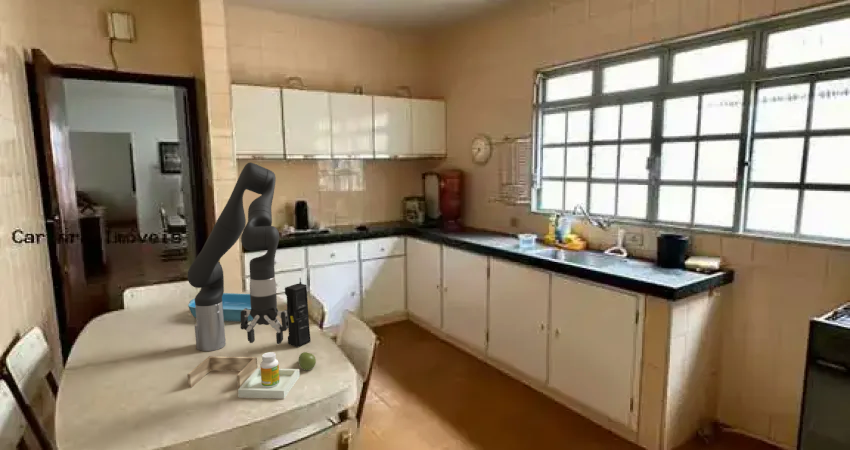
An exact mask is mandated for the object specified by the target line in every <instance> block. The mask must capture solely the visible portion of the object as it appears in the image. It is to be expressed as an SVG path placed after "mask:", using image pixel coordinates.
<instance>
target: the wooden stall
mask: <svg viewBox="0 0 850 450" xmlns="http://www.w3.org/2000/svg"><path fill="white" fill-rule="evenodd" d="M257 368H258V357H256V356H211V355H210V356H207V357H206V358H205V359H204V360H203V361H202V362H200V363H199V364H198V365H197V366H196V367H195V368H193V369H192V370H190V371H189V372H188V373H187V383H188V388H189V389H191V388H193V387H194V386H195V385H197V383H198V382H200V381H201V380H202V379H203V378H204V377H205V376H206V375H208V374H209V372H210V371H230V372H231V371H235V372H236V371H238V374H237V375H236V381H237V390H238V389H239V388H240V387H241V386H242V385H243V384H244V382H245V381H246V380H247V379H248V378H249V377H250V376H251V375H252V374H253V373H254V371H255V370H256V369H257ZM239 371H240V372H239Z"/></svg>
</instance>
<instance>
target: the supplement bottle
mask: <svg viewBox="0 0 850 450" xmlns="http://www.w3.org/2000/svg"><path fill="white" fill-rule="evenodd" d="M276 356H277V355H276V352H273V351H268V352H265V353H263V354H262V355H261V359H262V360H261V362H260V366H259V367H260V368H261V383H262V386H263V387H265V388H271V387H275V386H277V385H278V384H279V382H280V379H279V369H280V366H279V360H278V359H277V358H276Z"/></svg>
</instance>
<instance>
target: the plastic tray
mask: <svg viewBox="0 0 850 450" xmlns="http://www.w3.org/2000/svg"><path fill="white" fill-rule="evenodd" d="M300 377H301V376H300V369H299V368H279V379H280V382H279V384H278V385H277V386H275V387H271V388H265V387H263V386H262V383H261V368H259V367H257V369H256V370H255V371H254V373H253V374H252V375H251V376H250V377H249V378H248V379H247V380H246V381H245V382H244V384H243V385H242V386H241V387H240V388H239V389H238V388H237V394H238V395H237V396H238V398H243V399H244V398H245V399H247V398H248V399H283V400H284V399H286V397H287V395H288V394H289V393H290V391H291V390H292V388H293V387H294V385H295V384H296V383H297V381H298V379H300Z"/></svg>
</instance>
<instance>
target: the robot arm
mask: <svg viewBox="0 0 850 450" xmlns="http://www.w3.org/2000/svg"><path fill="white" fill-rule="evenodd" d="M276 181H277V180H276V174H275V173H274V171H272V170H270V169H268V168H265V167H264V166H262V165H259V164H256V163H253V162H247V163H246V164H245V166H244V167H243V168H242V170H241V172H240V174H239V176H238V179H237V180H236V183H235V185H234V187H233V190H232V192H231V194H230V196H229V199H228V201H227V202H226V204H225V206H224V207H223V209H222V211H221V213H220V214H219V216H218V217H217V220H216V222H215V223H214V226H213V228H212V230H211V232H210V234H209V236H208V237H207V239H206V241H205V242H204V245H203V247H202V249H201V250H200V252H199V253H198V254H197V256H196V257H195V259H194V260H193V262H192V263H191V264H190V266H189V268H188V271H187V281H188V283H189V285H190V286H191V287H193V288H196V289H200V290H199V292H198V293H197V294H196V295H195V297H194V299H195V308H196V323H195V324H194V335H195V346H196V350H200V351H202V352H210V351H211V352H212V351H217V350H220V349H222V348H224V347H225V346H226V344H227V343H226V331H225V321H224V316H223V304H222V296H223V293H225V292H224V291H225V288H224V287H225V286H224V285H225V284H224V282H225V281H224V277H225V276H224V270H223V266H222V264H221V263H220V262H219V261H220V260H221V258H222V257H223V256H224V255H225V254H226V253H227V252H229V250H230V249H231V248H232V247H233V246H234V245H235V244H236V243H237V241H238V240H239V239H240V237H241V240H240V242H241V244H242V246H243V248H244V249H245V250H247V251H251V252H252V251H265V250H266V252H265V253H264V255H263V254H262V255H260V256H257V257H253V258H252V259H250V260H249V294H250V302H251V310H248V309H247V308H245V309H244V310H242V311H241V322H240V329H241V330H245V331H246V333H247V341H248V342H249V343H250V344H253V343H254V342H255V341H256V340H255V326H256V325H257V324H258V325H259V326H261V325H264V326H265V325H266V326H269V325H270V327H271V328H273V329H274V330H275V331H276V333H275V336H276V338H275V339H276V340H275V341H276V345H280V344H281V343H282V342H283V340H284V332H286V331H287V330H288V328H289V320H288V311H287V309H284V310H278V308H277V307H278V303H277V301H278V299H277V298H278V297H277V281H276V276H275V275H276V274H275V270H276V269H275V260H276V253H277V249H278V245H279V242H280V233H279V232H280V231H279V230H278V229H277V228H276V227H275V226H273V225H272V224H273V216H272V215H273V214H272V204H273V199H274V194H275V190H276V189H275V188H276ZM246 190H247V191H250V192H252V193H255V194H258V195H259V196H258V197H256V198H255V199H253V201H251V203H250V204H249V205H248V209H247V219H246V214H245V213H246V212H245V209H244V200H243V198H244V193H245V192H246ZM246 220H247V221H246ZM249 314H250V315H251V316H252V318H253V320H252V321H250V323H249V321H248V316H249ZM277 317H279V318H277ZM279 319H281V320H279ZM280 321H281V322H280Z"/></svg>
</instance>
